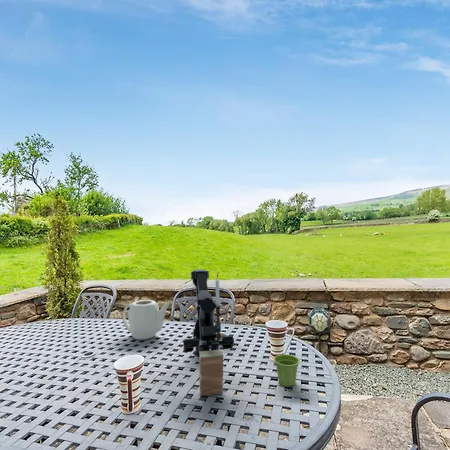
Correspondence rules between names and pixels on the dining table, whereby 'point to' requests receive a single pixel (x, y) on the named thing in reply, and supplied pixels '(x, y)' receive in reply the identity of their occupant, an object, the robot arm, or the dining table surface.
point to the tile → (211, 372)
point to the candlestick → (219, 309)
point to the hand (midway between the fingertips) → (210, 366)
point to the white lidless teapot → (144, 318)
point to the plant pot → (286, 369)
